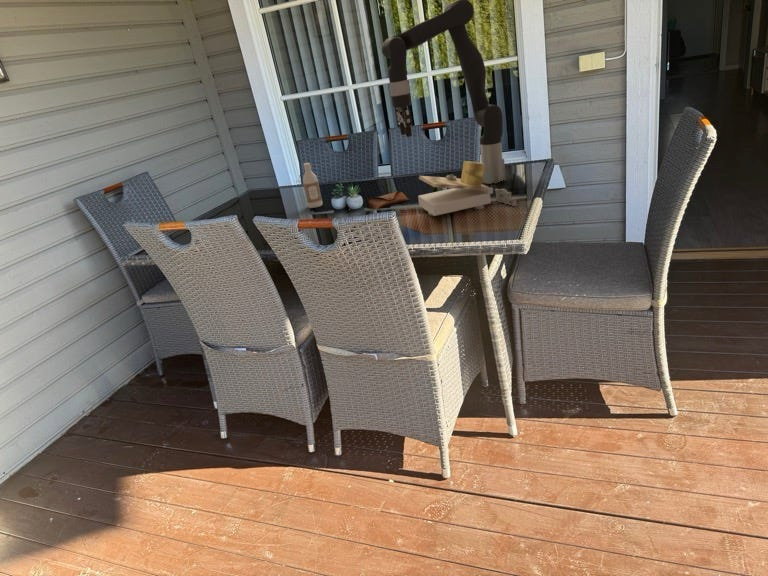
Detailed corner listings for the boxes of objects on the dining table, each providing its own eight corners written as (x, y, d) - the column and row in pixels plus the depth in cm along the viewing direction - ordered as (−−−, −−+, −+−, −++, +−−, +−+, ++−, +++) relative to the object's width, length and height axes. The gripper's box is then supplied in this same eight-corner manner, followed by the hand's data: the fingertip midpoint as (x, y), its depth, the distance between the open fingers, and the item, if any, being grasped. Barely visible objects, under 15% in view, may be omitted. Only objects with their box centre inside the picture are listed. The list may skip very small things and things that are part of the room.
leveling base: (471, 197, 214) (470, 178, 211) (494, 208, 195) (492, 188, 192) (418, 209, 210) (416, 190, 207) (436, 222, 191) (433, 201, 188)
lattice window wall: (517, 206, 193) (516, 191, 191) (513, 207, 193) (512, 192, 191) (498, 201, 204) (497, 186, 201) (494, 202, 203) (493, 187, 201)
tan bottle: (309, 209, 238) (299, 166, 230) (307, 205, 245) (298, 163, 236) (323, 206, 239) (314, 163, 231) (322, 202, 246) (313, 161, 237)
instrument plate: (470, 182, 210) (474, 159, 207) (490, 191, 194) (494, 165, 191) (418, 179, 204) (421, 155, 201) (434, 187, 188) (437, 161, 184)
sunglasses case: (375, 210, 219) (369, 195, 220) (370, 215, 226) (365, 201, 226) (411, 199, 226) (406, 185, 226) (406, 205, 232) (400, 191, 233)
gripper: (414, 92, 196) (420, 135, 202) (404, 91, 209) (410, 132, 215) (395, 95, 195) (402, 139, 201) (386, 94, 208) (393, 135, 214)
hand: (406, 135), depth 208 cm, fingers open, 8 cm apart
